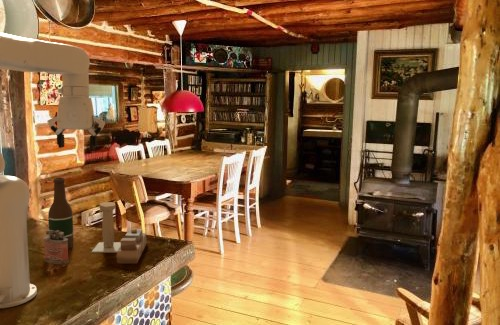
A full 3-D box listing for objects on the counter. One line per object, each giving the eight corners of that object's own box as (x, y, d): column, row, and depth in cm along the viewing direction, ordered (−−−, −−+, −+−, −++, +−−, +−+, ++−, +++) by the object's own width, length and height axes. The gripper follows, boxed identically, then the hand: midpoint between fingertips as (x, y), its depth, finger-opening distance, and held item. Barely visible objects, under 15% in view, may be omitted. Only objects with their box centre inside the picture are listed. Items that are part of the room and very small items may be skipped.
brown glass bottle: (78, 243, 147) (76, 176, 143) (66, 251, 139) (63, 180, 136) (57, 242, 148) (54, 175, 144) (44, 250, 140) (41, 179, 136)
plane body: (137, 263, 131) (136, 240, 130) (117, 263, 130) (116, 240, 129) (146, 243, 149) (146, 223, 148) (129, 243, 148) (128, 223, 147)
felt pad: (119, 252, 140) (119, 251, 140) (91, 252, 139) (91, 251, 139) (125, 243, 149) (125, 242, 148) (99, 243, 148) (99, 242, 148)
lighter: (71, 261, 131) (70, 230, 130) (63, 265, 128) (62, 233, 127) (49, 257, 133) (48, 227, 132) (42, 261, 130) (40, 230, 129)
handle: (113, 242, 147) (112, 201, 145) (118, 248, 142) (117, 205, 140) (99, 245, 145) (97, 202, 143) (103, 250, 140) (102, 207, 137)
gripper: (42, 91, 125) (43, 148, 128) (101, 93, 127) (101, 149, 129) (52, 92, 133) (53, 146, 135) (107, 94, 134) (108, 147, 136)
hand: (77, 147), depth 132 cm, fingers open, 9 cm apart
